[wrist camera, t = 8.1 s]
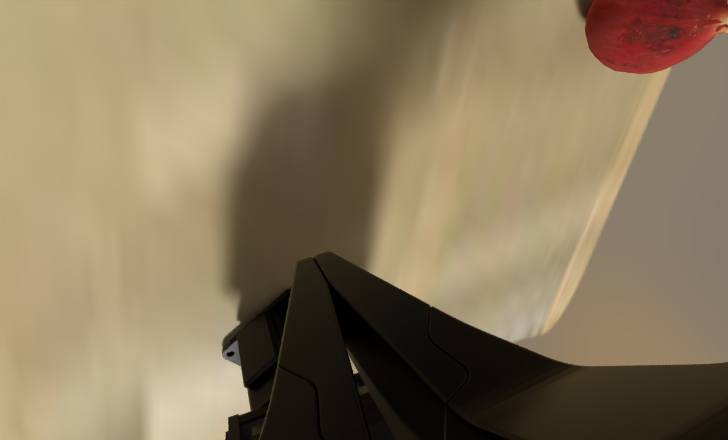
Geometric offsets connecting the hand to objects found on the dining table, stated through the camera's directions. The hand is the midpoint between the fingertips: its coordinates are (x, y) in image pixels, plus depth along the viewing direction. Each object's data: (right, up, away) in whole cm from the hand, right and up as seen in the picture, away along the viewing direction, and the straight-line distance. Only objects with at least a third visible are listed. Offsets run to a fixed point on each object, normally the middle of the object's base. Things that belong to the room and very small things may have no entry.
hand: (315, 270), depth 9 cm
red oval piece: (+15, +14, +15) cm, 26 cm away
